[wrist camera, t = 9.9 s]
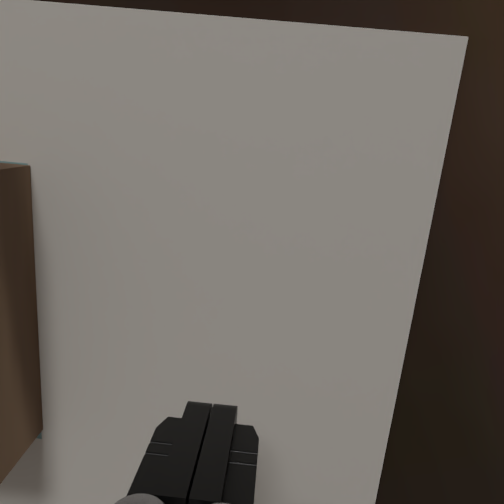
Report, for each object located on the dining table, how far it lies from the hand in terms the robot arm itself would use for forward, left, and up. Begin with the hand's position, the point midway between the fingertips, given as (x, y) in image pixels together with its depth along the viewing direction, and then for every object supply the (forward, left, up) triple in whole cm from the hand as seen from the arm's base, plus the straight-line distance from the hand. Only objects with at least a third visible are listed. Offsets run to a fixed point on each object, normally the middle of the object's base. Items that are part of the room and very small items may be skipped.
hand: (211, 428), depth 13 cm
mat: (+9, 0, -6) cm, 10 cm away
